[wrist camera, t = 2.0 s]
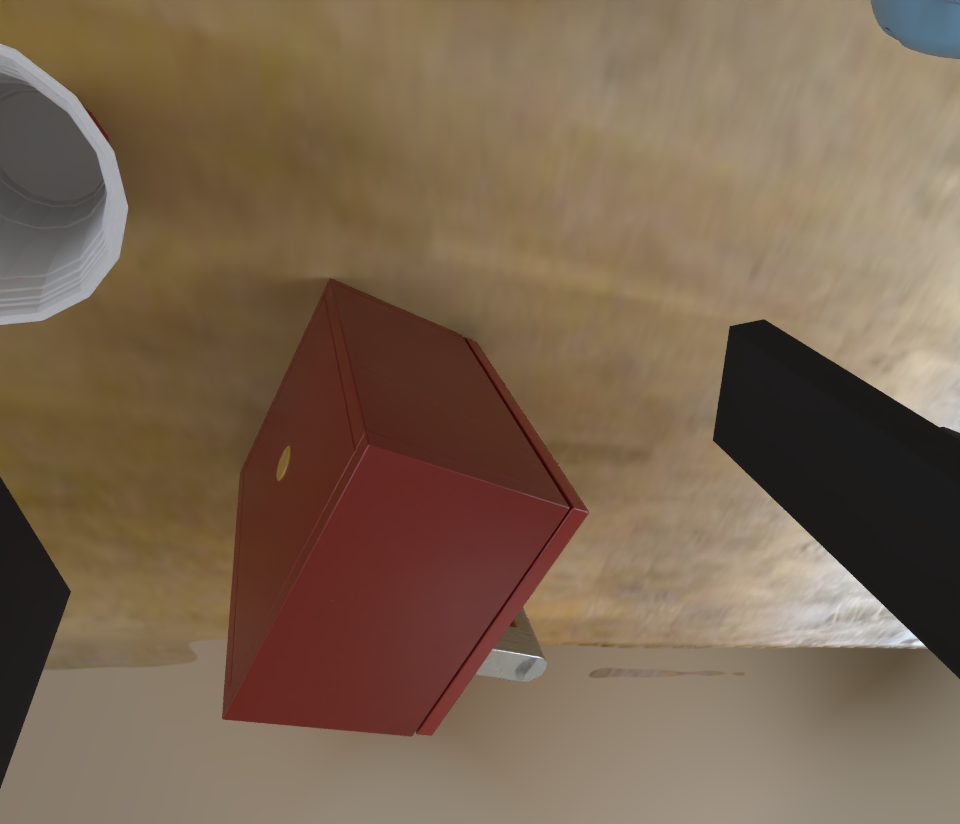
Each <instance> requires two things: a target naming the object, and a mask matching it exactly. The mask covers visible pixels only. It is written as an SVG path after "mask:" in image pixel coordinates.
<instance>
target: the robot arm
mask: <svg viewBox="0 0 960 824" xmlns="http://www.w3.org/2000/svg"><path fill="white" fill-rule="evenodd" d="M871 4H872V9H873V13H874V15H875V18H876V20H877V22H878V24H879V25H880V27H881V28H882V29H883V31H884V32H885V33H887V34H888V35H890V36H891V37H893V38H895V39H897V40H899V41H900V42H901V44H902V45H904V46H905V47H907V48H909V49H912V50H915V51H918V52H921V53H924V54H928V55H933V56H938V57H945V58H954V59H960V0H871ZM713 441H714V442H715V443H716V444H717V445H718V446H719V447H720V448H721V449H723V450H724V451H725V452H726V453H727V454H728V455H729V456H730V457H731V458H732V459H733V460H734V461H735V462H736V463H737V464H738V465H739V466H740V467H741V468H742V469H743V470H744V471H745V472H746V473H747V474H748V475H749V476H750V477H751V478H753V479H754V480H755V481H756V482H757V483H758V484H759V485H760V486H761V487H762V488H763V489H764V490H765V491H766V492H767V493H768V494H769V495H770V496H771V497H772V498H773V499H774V500H775V501H776V502H777V503H778V504H779V505H780V506H781V507H783V508H784V509H785V510H786V511H787V512H788V513H789V514H790V515H791V516H792V517H793V518H794V519H795V520H796V521H797V522H798V523H799V524H800V525H801V526H802V527H803V528H804V529H805V530H806V531H807V532H808V533H809V534H810V535H811V536H813V537H814V538H815V539H816V540H817V541H818V542H819V543H820V544H821V545H822V546H823V547H824V548H825V549H826V550H827V551H828V552H829V553H830V554H831V555H832V556H833V557H834V558H835V559H836V560H837V561H838V562H839V563H840V564H841V565H843V566H844V567H845V568H846V569H847V570H848V571H849V572H850V573H851V574H852V575H853V576H854V577H855V578H856V579H857V580H858V581H859V582H860V583H861V584H862V585H863V586H864V587H865V588H866V589H867V590H868V591H869V592H870V593H871V594H872V595H874V596H875V597H876V598H877V599H878V600H879V601H880V602H881V603H882V604H883V605H884V606H885V607H886V608H887V609H888V610H889V611H890V612H891V613H892V614H893V615H894V616H895V617H896V618H897V619H898V620H899V621H900V622H901V623H902V624H904V625H905V626H906V627H907V628H908V629H909V630H910V631H911V632H912V633H913V634H914V635H915V636H916V637H917V638H918V639H919V640H920V641H921V642H922V643H923V644H924V645H925V646H926V647H927V648H928V649H929V650H930V651H932V652H933V653H934V654H935V655H936V656H937V657H938V658H939V659H940V660H941V661H942V662H943V663H944V664H945V665H946V666H947V667H948V668H949V669H950V670H951V671H952V672H953V673H954V674H955V675H956V676H957V677H958V678H959V679H960V433H959V432H956V431H953V430H950V429H948V428H945V427H940V428H939V427H938V426H936V425H934V424H933V423H931V422H930V421H928V420H926V419H925V418H923V417H921V416H920V415H918V414H917V413H915V412H913V411H912V410H910V409H908V408H907V407H905V406H904V405H902V404H900V403H899V402H897V401H895V400H894V399H892V398H891V397H889V396H887V395H886V394H884V393H883V392H881V391H879V390H878V389H876V388H874V387H873V386H871V385H870V384H868V383H866V382H865V381H863V380H861V379H860V378H858V377H857V376H855V375H853V374H852V373H850V372H849V371H847V370H845V369H844V368H842V367H840V366H839V365H837V364H836V363H834V362H832V361H831V360H829V359H827V358H826V357H824V356H823V355H821V354H819V353H818V352H816V351H814V350H813V349H811V348H810V347H808V346H806V345H805V344H803V343H802V342H800V341H798V340H797V339H795V338H793V337H792V336H790V335H789V334H787V333H785V332H784V331H782V330H780V329H779V328H777V327H776V326H774V325H772V324H771V323H769V322H768V321H766V320H759V321H754V322H749V323H744V324H739V325H734V326H730V329H729V335H728V342H727V349H726V355H725V362H724V369H723V376H722V382H721V389H720V396H719V402H718V409H717V416H716V423H715V429H714V436H713ZM70 593H71V591H70V589H69V588H68V586H67V585H66V583H65V581H64V580H63V578H62V576H61V575H60V573H59V572H58V570H57V568H56V567H55V565H54V563H53V562H52V560H51V559H50V557H49V555H48V554H47V552H46V550H45V549H44V547H43V546H42V544H41V542H40V541H39V539H38V537H37V536H36V534H35V532H34V531H33V529H32V528H31V526H30V524H29V523H28V521H27V519H26V518H25V516H24V515H23V513H22V511H21V510H20V508H19V506H18V505H17V503H16V502H15V500H14V498H13V497H12V495H11V493H10V492H9V490H8V489H7V487H6V485H5V484H4V482H3V480H2V479H1V477H0V788H1V785H2V782H3V779H4V777H5V774H6V771H7V768H8V765H9V763H10V760H11V757H12V754H13V751H14V749H15V746H16V743H17V740H18V738H19V735H20V732H21V729H22V726H23V723H24V721H25V718H26V715H27V713H28V710H29V707H30V704H31V701H32V699H33V696H34V693H35V690H36V687H37V685H38V682H39V679H40V676H41V674H42V671H43V668H44V665H45V662H46V660H47V657H48V654H49V651H50V649H51V646H52V643H53V640H54V637H55V635H56V632H57V629H58V626H59V623H60V621H61V618H62V615H63V612H64V610H65V607H66V604H67V601H68V598H69V596H70Z"/></svg>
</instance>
